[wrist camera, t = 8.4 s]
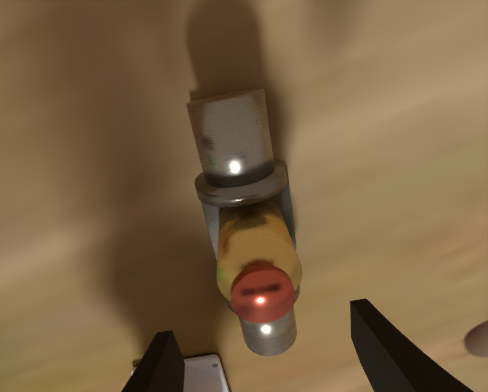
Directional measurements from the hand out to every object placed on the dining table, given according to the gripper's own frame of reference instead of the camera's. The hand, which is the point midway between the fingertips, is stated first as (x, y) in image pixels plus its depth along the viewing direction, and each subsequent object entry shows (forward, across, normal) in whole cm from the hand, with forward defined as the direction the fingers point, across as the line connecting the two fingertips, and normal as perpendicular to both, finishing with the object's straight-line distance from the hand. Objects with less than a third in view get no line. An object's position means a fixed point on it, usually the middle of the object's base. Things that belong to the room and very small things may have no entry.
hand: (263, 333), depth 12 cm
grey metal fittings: (+10, 0, 0) cm, 10 cm away
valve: (+10, 0, 0) cm, 10 cm away
